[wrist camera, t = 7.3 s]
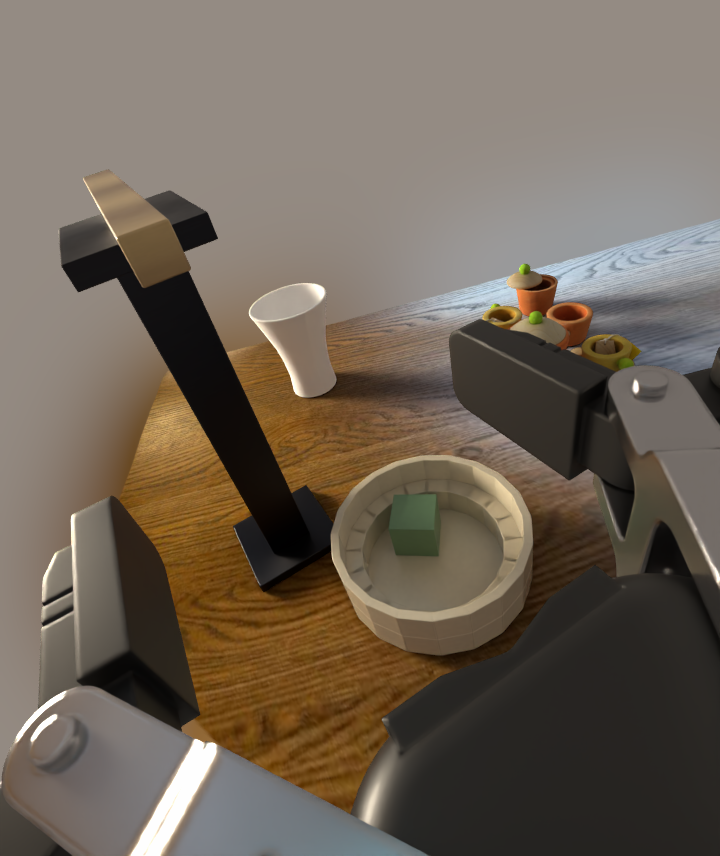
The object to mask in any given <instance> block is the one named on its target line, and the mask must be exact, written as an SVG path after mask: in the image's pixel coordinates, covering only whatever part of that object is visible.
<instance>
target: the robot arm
mask: <svg viewBox="0 0 720 856" xmlns="http://www.w3.org/2000/svg"><path fill="white" fill-rule="evenodd" d="M449 347H450V357H451V368H452V379H453V388H454V391H455V394H456V396H457V398H458V400H459V401H460V403H461V404H462V405H463V406H464V407H465V408H466V409H467V410H469V411H470V412H471V413H473V414H474V415H476V416H477V417H479V418H480V419H482V420H483V421H484V422H486V423H487V424H489V425H490V426H492V427H493V428H494V429H496V430H497V431H499V432H500V433H502V434H503V435H505V436H506V437H507V438H509V439H510V440H512V441H513V442H515V443H516V444H517V445H519V446H520V447H522V448H523V449H525V450H526V451H527V452H529V453H530V454H532V455H533V456H535V457H536V458H538V459H539V460H540V461H542V462H543V463H545V464H546V465H548V466H549V467H550V468H552V469H553V470H555V471H556V472H558V473H559V474H561V475H562V476H563V477H565V478H566V479H568V480H571V479H573V478H574V477H576V476H577V475H579V474H580V473H582V472H584V471H585V470H587V469H589V470H590V471H592V472H593V473H594V478H593V485H594V489H595V492H596V495H597V498H598V501H599V505H600V508H601V511H602V514H603V517H604V521H605V524H606V527H607V530H608V533H609V536H610V540H611V543H612V546H613V549H614V553H615V558H616V575H617V577H615V578H611V577H610V576H608V575H607V574H606V573H605V572H603V571H602V570H601V569H600V568H599V567H597V566H596V565H594V566H593V567H592V568H590V569H589V570H587V571H586V572H585V573H583V574H582V575H580V576H579V577H578V578H576V579H575V580H573V581H572V582H571V583H569V584H568V585H567V586H565V587H564V588H562V589H561V590H560V591H558V592H557V593H555V594H554V595H553V596H551V597H550V598H549V599H548V600H547V601H546V603H545V604H544V605H543V607H542V608H541V609H540V611H539V612H538V614H537V615H536V616H535V618H534V619H533V620H532V622H531V623H530V624H529V626H528V627H527V629H526V630H525V631H524V633H523V634H522V635H521V637H520V638H519V639H518V641H517V642H516V644H515V645H514V646H513V647H512V648H511V649H510V650H509V651H507V652H505V653H503V654H501V655H498V656H495V657H492V658H490V659H487V660H484V661H481V662H479V663H476V664H473V665H470V666H467V667H465V668H462V669H459V670H456V671H454V672H451V673H448V674H445V675H443V676H440V677H439V678H437V679H436V680H434V681H433V682H432V683H430V684H429V685H428V686H426V687H425V688H423V689H422V690H421V691H419V692H418V693H416V694H415V695H414V696H412V697H411V698H409V699H408V700H407V701H405V702H404V703H403V704H401V705H400V706H398V707H397V708H396V709H394V710H393V711H391V712H390V713H389V714H387V715H386V716H384V717H383V718H382V721H383V723H384V725H385V727H386V730H387V732H388V734H389V736H390V737H389V738H388V739H387V740H386V742H385V743H384V744H383V746H382V747H381V748H380V750H379V751H378V753H377V754H376V756H375V758H374V759H373V761H372V763H371V764H370V766H369V768H368V769H367V772H366V774H365V776H364V778H363V780H362V783H361V785H360V787H359V789H358V793H357V796H356V799H355V802H354V805H353V808H352V811H351V814H349V813H347V812H345V811H343V810H341V809H339V808H337V807H335V806H334V805H332V804H330V803H328V802H326V801H324V800H322V799H320V798H318V797H316V796H315V795H313V794H311V793H309V792H307V791H305V790H303V789H301V788H299V787H297V786H295V785H294V784H292V783H290V782H288V781H286V780H284V779H282V778H280V777H278V776H276V775H274V774H273V773H271V772H269V771H267V770H265V769H263V768H261V767H259V766H257V765H255V764H253V763H252V762H250V761H248V760H246V759H244V758H242V757H240V756H238V755H236V754H234V753H233V752H231V751H229V750H227V749H225V748H223V747H221V746H219V745H216V744H214V743H211V742H208V741H206V742H205V743H202V742H200V741H198V740H196V739H193V738H192V737H190V736H188V735H186V734H184V733H182V729H181V727H182V726H183V725H185V724H186V723H188V722H189V721H191V720H193V719H194V718H196V717H197V716H199V715H200V712H199V707H198V703H197V699H196V695H195V691H194V687H193V682H192V678H191V674H190V670H189V666H188V662H187V657H186V653H185V649H184V645H183V641H182V637H181V632H180V628H179V624H178V620H177V616H176V612H175V607H174V603H173V599H172V595H171V591H170V587H169V582H168V578H167V574H166V570H165V567H164V564H163V562H162V559H161V557H160V555H159V553H158V551H157V550H156V548H155V546H154V545H153V543H152V542H151V541H150V539H149V538H148V537H147V536H146V534H145V533H144V532H143V531H142V529H141V528H140V527H139V525H138V524H137V523H136V522H135V520H134V519H133V518H132V517H131V515H130V514H129V513H128V511H127V510H126V509H125V508H124V506H123V505H122V504H121V503H120V501H119V500H118V499H117V498H115V497H114V496H110V497H108V498H106V499H104V500H102V501H100V502H98V503H95V504H93V505H91V506H89V507H87V508H85V509H83V510H81V511H79V512H77V513H75V514H73V515H72V517H71V539H72V545H70V546H68V547H66V548H64V549H62V550H60V551H58V552H56V553H55V555H54V557H53V559H52V561H51V563H50V565H49V568H48V569H47V571H46V574H45V576H44V578H43V589H42V603H43V605H44V607H43V608H42V619H41V620H42V621H41V623H42V625H43V628H41V647H40V677H39V705H38V711H37V712H36V713H35V714H34V715H33V716H32V717H31V718H30V719H29V721H28V722H27V723H26V724H25V726H24V727H23V728H22V730H21V731H20V732H19V734H18V736H17V737H16V739H15V741H14V742H13V744H12V746H11V748H10V750H9V752H8V755H7V758H6V761H5V763H4V767H3V772H2V781H1V782H0V856H720V347H719V348H718V351H717V353H716V357H715V360H714V363H713V366H712V368H708V369H704V370H700V371H697V372H693V373H689V374H685V375H682V374H680V373H678V372H676V371H673V370H670V369H667V368H663V367H658V366H646V365H644V366H632V367H628V368H624V369H622V370H619V371H617V372H616V371H613V370H611V369H609V368H607V367H604V366H602V365H600V364H597V363H595V362H593V361H591V360H588V359H586V358H584V357H582V356H579V355H577V354H575V353H573V352H570V351H568V350H566V349H563V350H562V349H561V347H559V346H557V345H555V344H552V343H550V342H549V343H546V341H545V340H543V339H541V338H539V337H536V336H534V335H532V334H530V333H527V332H521V331H514V330H508V329H503V328H501V327H498V326H496V325H494V324H492V323H490V322H487V321H485V320H482V319H479V320H476V321H474V322H472V323H470V324H468V325H466V326H464V327H462V328H460V329H458V330H456V331H454V332H452V333H451V335H450V338H449Z"/></svg>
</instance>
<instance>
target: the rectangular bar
mask: <svg viewBox="0 0 720 856" xmlns="http://www.w3.org/2000/svg"><path fill="white" fill-rule="evenodd" d="M83 180H84V182H85V184H86V186H87V187H88V189H89V191H90V193H91V195H92V196H93V198H94V200H95V202H96V204H97V206H98V208H99V209H100V211H101V213H102V215H103V217H104V219H105V220H106V222H107V224H108V226H109V228H110V229H111V231H112V233H113V235H114V237H115V239H116V240H117V242H118V244H119V246H120V248H121V249H122V251H123V253H124V255H125V257H126V259H127V260H128V262H129V264H130V266H131V268H132V269H133V271H134V273H135V275H136V277H137V279H138V280H139V282H140V284H141V286H142V287H143V288H147V287H149V286H152V285H154V284H157V283H159V282H162V281H164V280H167V279H169V278H172V277H174V276H177V275H179V274H182V273H184V272H187V271H190V269H191V267H190V264H189V262H188V260H187V258H186V256H185V253H184V251H183V249H182V247H181V245H180V243H179V240H178V238H177V236H176V234H175V232H174V229H173V227H172V225H171V223H170V221H169V220H168V219H167V218H166V217H165V216H164V215H163V214H161V213H160V212H159V211H158V210H157V209H155V208H154V207H153V206H152V205H151V204H150V203H148V202H147V201H146V200H145V199H144V198H142V197H141V196H140V195H139V194H138V193H136V192H135V191H134V190H133V189H132V188H130V187H129V186H128V185H127V184H126V183H125V182H123V181H122V180H121V179H120V178H118V177H117V176H116V175H115V174H114V173H113V172H111V171H110V170H105V171H101V172H98V173H95V174H92V175H89V176H86V177H83Z"/></svg>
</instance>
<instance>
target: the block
mask: <svg viewBox="0 0 720 856" xmlns="http://www.w3.org/2000/svg"><path fill="white" fill-rule="evenodd" d="M440 529H441V518H440V512H439V506H438V500H437V495H436V494H399V495H394V497H393V503H392V509H391V516H390V522H389V528H388V530H389V533H390V537H391V540H392V544H393V547H394V551H395V554H396V555H404V556H437V557H438V556H439V546H440Z"/></svg>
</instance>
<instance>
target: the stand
mask: <svg viewBox="0 0 720 856" xmlns="http://www.w3.org/2000/svg"><path fill="white" fill-rule="evenodd" d="M145 200H146V201H147V202H148V203H150V204H151V205H152V206H153V207H154V208H155V209H157V210H158V211H159V212H160V213H161V214H163V215H164V216H165V217H166V218H167V219H168V220H169V221H170V223H171V225H172V227H173V229H174V232H175V234H176V236H177V238H178V240H179V243H180V245H181V247H182V249H183V251H184V252H185V251H188V250H190V249H193V248H195V247H198V246H200V245H203V244H206V243H208V242H211V241H214V240H216V239H218V237H217V235H216V232H215V230H214V228H213V225H212V223H211V220H210V218H209V215H208V213H207V212H206V211H204V210H203V209H201V208H199V207H197V206H196V205H194V204H192V203H191V202H189V201H187V200H186V199H184V198H182V197H180V196H179V195H177V194H175V193H174V192H172V191H167V192H164V193H161V194H158V195H155V196H152V197H149V198H147V199H145ZM59 242H60V256H61V266H62V268H63V270H64V271H65V273H66V274H67V276H68V277H69V279H70V280H71V282H72V284H73V285H74V287H75V288H76V290H77V291H78V292H81V291H83V290H86V289H88V288H91V287H94V286H96V285H99V284H101V283H104V282H107V281H109V280H112V279H115V278H117V279H118V280H119V282H120V284H121V286H122V287H123V289H124V291H125V292H126V294H127V296H128V298H129V300H130V301H131V303H132V305H133V307H134V308H135V310H136V312H137V314H138V315H139V317H140V319H141V321H142V323H143V324H144V326H145V328H146V329H147V331H148V333H149V335H150V336H151V338H152V340H153V342H154V344H155V345H156V347H157V349H158V351H159V352H160V354H161V356H162V358H163V359H164V361H165V363H166V365H167V366H168V368H169V370H170V372H171V373H172V375H173V377H174V379H175V381H176V382H177V384H178V386H179V388H180V389H181V391H182V393H183V395H184V396H185V398H186V400H187V402H188V403H189V405H190V407H191V409H192V410H193V412H194V414H195V416H196V417H197V419H198V421H199V423H200V424H201V426H202V428H203V430H204V431H205V433H206V435H207V437H208V438H209V440H210V442H211V444H212V446H213V447H214V449H215V451H216V453H217V454H218V456H219V458H220V460H221V461H222V463H223V465H224V467H225V468H226V470H227V472H228V474H229V475H230V477H231V479H232V481H233V482H234V484H235V486H236V488H237V489H238V491H239V493H240V495H241V496H242V498H243V500H244V502H245V504H246V505H247V507H248V509H249V511H250V512H251V514H252V516H250V517H248V518H247V519H245V520H243V521H241V522H239V523H238V524H236V525H234V526H233V528H234V530H235V532H236V535H237V537H238V539H239V541H240V544H241V546H242V548H243V550H244V552H245V555H246V557H247V559H248V561H249V564H250V566H251V568H252V570H253V573H254V575H255V577H256V579H257V581H258V584H259V586H260V588H261V589H262V591H263V592H265V591H267V590H268V589H270V588H271V587H273V586H275V585H276V584H278V583H280V582H281V581H283V580H285V579H286V578H288V577H289V576H291V575H293V574H294V573H296V572H298V571H299V570H301V569H303V568H304V567H306V566H307V565H309V564H311V563H312V562H314V561H316V560H317V559H319V558H321V557H322V556H324V555H325V554H327V553H329V552H330V551H332V549H331V531H332V528H333V522H332V521H331V520H330V518H329V517H328V515H327V514H326V512H325V511H324V510H323V508H322V507H321V505H320V504H319V502H318V501H317V500H316V498H315V497H314V495H313V494H312V492H311V491H310V490H309V488H308V487H307V486H306V485H305V486H304V487H302V488H300V489H298V490H297V491H295V492H293V493H291V491H290V489H289V487H288V485H287V483H286V481H285V478H284V476H283V474H282V472H281V470H280V468H279V465H278V463H277V461H276V459H275V457H274V455H273V452H272V450H271V448H270V446H269V444H268V442H267V439H266V437H265V435H264V433H263V431H262V429H261V427H260V424H259V422H258V420H257V418H256V416H255V414H254V411H253V409H252V407H251V405H250V403H249V401H248V398H247V396H246V394H245V392H244V390H243V388H242V385H241V383H240V381H239V379H238V377H237V375H236V373H235V370H234V368H233V366H232V364H231V362H230V360H229V357H228V355H227V353H226V351H225V349H224V347H223V344H222V342H221V340H220V338H219V336H218V334H217V332H216V329H215V327H214V325H213V323H212V321H211V319H210V316H209V314H208V312H207V310H206V308H205V306H204V303H203V301H202V299H201V297H200V295H199V293H198V291H197V288H196V286H195V284H194V282H193V280H192V277H191V275H190V273H189V271H187V272H184V273H182V274H179V275H177V276H174V277H172V278H169V279H167V280H164V281H162V282H159V283H157V284H154V285H152V286H149V287H147V288H143V287H142V286H141V284H140V282H139V280H138V279H137V277H136V275H135V273H134V271H133V269H132V268H131V266H130V264H129V262H128V260H127V259H126V257H125V255H124V253H123V251H122V249H121V248H120V246H119V244H118V242H117V240H116V239H115V237H114V235H113V233H112V231H111V229H110V228H109V226H108V224H107V222H106V220H105V219H104V217H103V215H102V214H100V215H97V216H94V217H91V218H88V219H86V220H83V221H80V222H77V223H74V224H71V225H68V226H65V227H62V228H59Z"/></svg>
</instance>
